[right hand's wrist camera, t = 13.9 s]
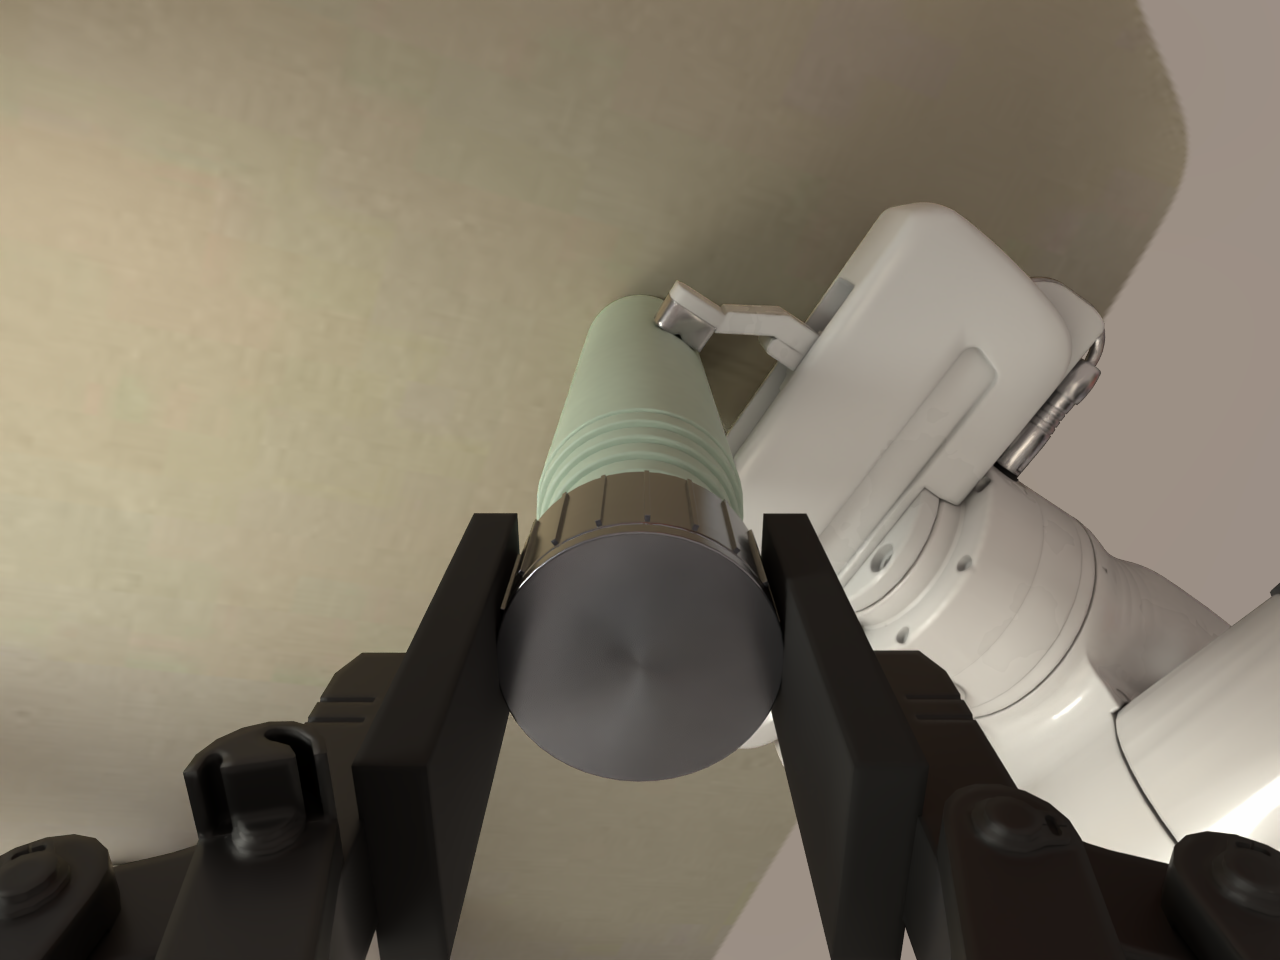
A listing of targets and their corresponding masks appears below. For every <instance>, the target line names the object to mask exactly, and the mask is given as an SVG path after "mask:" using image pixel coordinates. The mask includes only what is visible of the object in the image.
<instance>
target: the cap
mask: <svg viewBox="0 0 1280 960" xmlns="http://www.w3.org/2000/svg"><path fill="white" fill-rule="evenodd" d="M769 585H770V584H769V581H768V578H767V574H766V571H765V568H764V565H763V561H762V558H761V555H760V552H759V549H758V545H757V542H756V539H755V536H754V533H753V531H752V529H751V530H748V529H747V527H746V525H745V524H744V522H743V521H742V519H741V518H740V517H739V516H738V515H737V514H736V513H735V511H734V510H733V509H732V508H731V507H730V506H729V504H728V501H726V500H725V499H724V500H722V499H721V498H719V497H718V496H716V495H715V494H713V493H712V492H710V491H709V490H707V489H706V488H704V487H701V486H699V485H697V484H695V483H693V482H692V480H690V479H687V480H685V479H683V478H679V477H676V476H672V475H667V474H662V473H654V472H649V470H644V472H625V473H619V474H613V475H608V476H606V475H602V476H601V478H598V479H595V480H592V481H590V482H587V483H585V484H583V485H581V486H578V487H577V488H575V489H573V490H572V491H570V492H568V493H567V492H565V493H563V494H562V497H561V498H560V499H559V500H557V501H556V502H555V503H554V504H553V505H551V506H550V508H549V509H548V510H547V511H546V512H545V513H544V514H543V515H542V516H541V517H540V519H539V520H536V519H535V521H534V522H533V525H532V528H531V531H530V534H529V536H528V538H527V540H526V542H525V545H524V548H523V551H522V554H518V555H517V558H516V561H515V564H514V567H513V570H512V573H511V576H510V579H509V582H508V585H507V589H506V592H505V595H504V598H503V601H502V604H501V607H500V613H502V618H501V621H500V624H499V627H498V631H497V637H496V649H497V664H498V678H499V687H500V691H501V694H502V696H503V698H504V700H505V703H506V705H507V707H508V709H509V711H510V712H511V714H512V716H513V717H514V719H515V720H516V722H517V723H518V725H519V726H520V727H521V728H522V729H523V731H524V732H525V733H526V734H527V735H528V736H529V737H530V738H531V739H532V740H533V741H534V742H535V743H536V744H537V745H538V746H539V747H541V748H542V749H543V750H545V751H546V752H547V753H549V754H550V755H552V756H553V757H554V758H556V759H558V760H560V761H562V762H564V763H565V764H567V765H569V766H571V767H574V768H576V769H579V770H581V771H583V772H586V773H589V774H593V775H596V776H600V777H604V778H609V779H615V780H622V781H637V782H640V781H658V780H665V779H672V778H676V777H680V776H684V775H688V774H691V773H694V772H697V771H699V770H702V769H704V768H707V767H709V766H711V765H713V764H715V763H717V762H719V761H721V760H722V759H724V758H725V757H727V756H728V755H730V754H731V753H733V752H734V751H736V750H737V749H738V748H739V747H741V746H742V745H743V744H744V743H745V742H746V741H747V740H749V739H750V738H751V736H752V735H753V734H754V733H755V732H756V731H757V730H758V729H759V727H760V726H761V725H762V723H763V722H764V720H765V719H766V717H767V716H768V715H769V713H770V711H771V709H772V707H773V705H774V703H775V701H776V699H777V697H778V694H779V690H780V687H781V684H782V673H783V658H784V637H783V631H782V628H781V625H780V620H779V616H778V613H777V610H776V607H775V604H774V600H773V597H772V594H771V591H770V587H769Z"/></svg>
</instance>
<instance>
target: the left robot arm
mask: <svg viewBox="0 0 1280 960" xmlns="http://www.w3.org/2000/svg"><path fill="white" fill-rule="evenodd" d="M654 319H655V320H654V322H655V323H656V324H657V325H658V326H660V327H661V328H662V329H664V330H665V331H667V332H668V333H670V334H680V336H681V338H682V341H683V342H684V343H686V344H687V345H689V346H690V347H692V348H693V349H695V350H696V351H698V352H701V350H702V349H703V347H704V346H705V344H706V343H707V341H708V340H709V339H710V337H711V336H712V334H713V333H714V331H715V333H724V334H742V335H759V337H758V339H759V343H760V344H761V345H762V347H763V348H764V350H765V351H766V352H767V354H768V355H770V356H771V357H773V358H774V359H776V360H777V363H776V364H775V365H774V367H773V368H772V370H771V371H770V373H769V374H768V375H767V377H766V378H765V380H764V381H763V382H762V384H761V385H760V387H759V388H758V390H757V391H756V392H755V394H754V395H753V397H752V398H751V400H750V401H749V402H748V404H747V405H746V407H745V408H744V410H743V411H742V412H741V414H740V415H739V417H738V418H737V420H736V421H735V422H734V424H733V425H732V427H731V428H730V430H729V431H728V432H727V434H726V438H727V441H728V444H729V447H730V450H731V453H732V456H733V459H734V463H735V466H736V469H737V472H738V475H739V478H740V481H741V486H742V492H743V522H744V524H745V525H746V527H747V529H748V530H751V529H752V531H753V533H754V536H755V539H756V542H757V545H758V549H759V552H760V555H761V546H762V528H763V513H807V515H808V517H809V519H810V522H811V524H812V526H813V528H814V530H815V532H816V534H817V536H818V538H819V540H820V542H821V544H822V546H823V548H824V550H825V552H826V554H827V556H828V559H829V561H830V563H831V565H832V567H833V569H834V571H835V573H836V575H837V577H838V579H839V581H840V583H841V585H842V587H843V589H844V591H845V593H846V596H847V598H848V600H849V602H850V604H851V606H852V608H853V610H854V612H855V614H856V616H857V618H858V620H859V622H860V624H861V626H862V628H863V630H864V632H865V635H866V637H867V639H868V641H869V643H870V645H871V647H872V649H873V650H919V651H920V652H922V653H923V654H924V655H926V656H927V657H928V658H930V659H931V660H932V661H934V662H935V663H936V664H937V665H939V666H940V667H941V668H943V669H944V670H945V671H946V672H947V673H948V675H949V677H950V678H951V680H952V682H953V683H954V685H955V687H956V688H957V690H958V691H959V693H960V695H961V700H964V701H965V703H966V704H967V706H968V708H969V709H970V711H971V713H972V714H973V720H976V721H977V722H978V724H979V726H980V727H981V729H982V731H983V732H984V734H985V735H986V737H987V739H988V740H989V742H990V744H991V745H992V747H993V749H994V750H995V752H996V753H997V755H998V757H999V758H1000V760H1001V762H1002V763H1003V765H1004V766H1005V768H1006V770H1007V771H1008V773H1009V775H1010V776H1011V778H1012V780H1013V781H1014V783H1015V784H1016V786H1017V788H1018V789H1021V790H1025V791H1027V792H1029V793H1031V794H1033V795H1035V796H1037V797H1039V798H1041V799H1043V800H1045V801H1047V802H1049V803H1050V804H1051V805H1052V806H1054V807H1055V808H1056V809H1057V810H1058V811H1060V812H1061V813H1062V814H1063V815H1064V816H1066V817H1067V818H1068V819H1069V820H1070V822H1071V823H1072V825H1073V826H1074V828H1075V829H1076V831H1077V833H1078V834H1079V836H1080V837H1081V839H1082V841H1084V842H1086V843H1089V844H1093V845H1096V846H1099V847H1102V848H1105V849H1109V850H1113V851H1117V852H1121V853H1125V854H1130V855H1134V856H1138V857H1142V858H1147V859H1151V860H1155V861H1159V862H1164V863H1168V864H1169V862H1170V858H1171V855H1172V851H1173V848H1174V846H1175V845H1176V844H1177V843H1178V842H1179V841H1180V840H1181V839H1182V838H1183V837H1184V836H1186V835H1189V834H1194V833H1199V832H1204V831H1213V832H1221V833H1230V834H1236V835H1239V836H1242V837H1245V838H1248V839H1251V840H1254V841H1257V842H1260V843H1263V844H1266V845H1268V846H1270V847H1272V848H1274V849H1276V850H1278V851H1279V852H1280V583H1279V584H1278V585H1277V586H1276V587H1275V588H1274V589H1272V590H1271V592H1270V593H1271V596H1272V597H1271V598H1269V599H1268V600H1267V601H1265V602H1264V603H1263V604H1261V605H1260V606H1259V607H1257V608H1256V609H1254V610H1253V611H1252V612H1250V613H1249V614H1248V615H1246V616H1245V617H1244V618H1242V619H1241V620H1240V621H1238V622H1237V623H1236V624H1234V625H1233V626H1230V625H1229V624H1228V623H1227V622H1225V621H1224V620H1223V619H1221V618H1220V617H1219V616H1218V615H1216V614H1215V613H1214V612H1212V611H1211V610H1210V609H1209V608H1207V607H1206V606H1205V605H1203V604H1202V603H1200V602H1199V601H1198V600H1196V599H1195V598H1193V597H1192V596H1191V595H1189V594H1188V593H1186V592H1185V591H1184V590H1182V589H1181V588H1179V587H1178V586H1176V585H1175V584H1173V583H1172V582H1170V581H1169V580H1167V579H1166V578H1164V577H1163V576H1161V575H1159V574H1158V573H1156V572H1154V571H1152V570H1150V569H1148V568H1146V567H1143V566H1141V565H1138V564H1135V563H1132V562H1128V561H1124V560H1120V559H1117V558H1115V557H1113V556H1111V555H1110V554H1108V553H1107V552H1106V550H1105V549H1104V548H1103V546H1102V545H1101V544H1100V542H1099V541H1098V540H1097V539H1096V537H1095V536H1094V535H1093V534H1092V532H1091V531H1090V530H1089V529H1087V528H1086V527H1085V526H1084V525H1083V524H1082V523H1080V522H1079V521H1078V520H1077V519H1075V518H1074V517H1072V516H1070V515H1069V514H1067V513H1066V512H1064V511H1063V510H1061V509H1060V508H1058V507H1057V506H1055V505H1054V504H1052V503H1051V502H1049V501H1048V500H1046V499H1045V498H1043V497H1042V496H1040V495H1039V494H1037V493H1036V492H1034V491H1033V490H1031V489H1030V488H1028V487H1027V486H1025V485H1024V484H1022V483H1021V482H1019V481H1018V479H1017V477H1018V476H1019V475H1020V474H1021V472H1022V471H1023V470H1024V469H1025V468H1026V467H1027V465H1028V464H1029V463H1030V462H1031V461H1032V459H1033V458H1034V457H1035V456H1036V455H1037V454H1038V452H1039V451H1040V450H1041V449H1042V448H1043V446H1044V445H1045V444H1046V442H1047V441H1048V440H1049V438H1050V437H1051V436H1050V435H1051V434H1053V432H1054V431H1055V427H1057V426H1058V425H1059V423H1060V422H1059V421H1061V420H1062V419H1063V418H1064V417H1065V414H1067V413H1068V412H1069V411H1070V410H1071V409H1072V408H1073V406H1074V405H1075V404H1076V405H1078V404H1079V403H1080V402H1081V401H1082V400H1083V399H1084V398H1085V397H1086V396H1087V394H1088V393H1089V392H1090V391H1091V389H1092V388H1093V387H1094V385H1095V383H1096V382H1097V380H1098V378H1099V376H1100V374H1101V371H1100V370H1099V369H1098V368H1096V367H1095V366H1096V364H1097V363H1098V361H1099V359H1100V357H1101V354H1102V352H1103V348H1104V343H1105V329H1104V321H1103V319H1102V317H1101V316H1100V314H1099V312H1098V311H1097V310H1096V309H1095V308H1094V306H1093V305H1092V304H1090V303H1089V302H1088V301H1086V300H1085V299H1084V298H1082V297H1081V296H1079V295H1078V294H1077V293H1075V292H1074V291H1073V290H1071V289H1070V288H1069V287H1067V286H1066V285H1064V284H1063V283H1062V282H1059V281H1057V280H1055V279H1051V278H1048V277H1029V276H1028V275H1027V274H1026V273H1025V272H1024V271H1023V270H1022V269H1021V268H1020V267H1019V266H1018V265H1017V264H1016V263H1015V262H1014V261H1013V260H1012V259H1011V258H1010V257H1009V256H1008V255H1007V254H1006V253H1005V252H1004V251H1003V250H1002V249H1000V248H999V247H998V246H997V245H996V244H995V243H994V242H993V241H992V240H991V239H989V238H988V237H987V236H986V235H985V234H984V233H982V232H981V231H980V230H979V229H978V228H976V227H975V226H974V225H973V224H972V223H970V222H969V221H968V220H967V219H965V218H964V217H963V216H961V215H960V214H959V213H957V212H956V211H954V210H952V209H950V208H948V207H946V206H943V205H940V204H937V203H931V202H918V203H910V204H904V205H899V206H894V207H890V208H888V209H886V210H885V211H884V212H882V214H881V215H880V216H879V217H878V219H877V220H876V221H875V223H874V224H873V226H872V227H871V229H870V230H869V231H868V233H867V234H866V236H865V237H864V239H863V240H862V241H861V243H860V244H859V246H858V247H857V249H856V250H855V251H854V253H853V254H852V256H851V257H850V258H849V260H848V261H847V263H846V264H845V266H844V267H843V268H842V270H841V271H840V273H839V274H838V276H837V277H836V278H835V280H834V281H833V283H832V284H831V286H830V287H829V288H828V290H827V291H826V293H825V294H824V296H823V297H822V298H821V300H820V301H819V303H818V304H817V306H816V307H815V308H814V310H813V311H812V313H811V314H810V316H809V317H808V318H807V320H806V321H805V323H804V322H802V321H801V320H799V319H798V318H796V317H795V316H793V315H792V314H790V313H789V312H787V311H785V310H784V309H782V308H781V307H779V306H766V305H737V304H722V306H721V307H720V306H718V305H717V304H715V303H714V302H712V301H711V300H709V299H707V298H706V297H704V296H703V295H701V294H700V293H698V292H697V291H695V290H694V289H692V288H691V287H689V286H688V285H686V284H684V283H682V282H680V281H678V280H677V281H676V282H675V284H674V285H673V287H672V289H671V290H670V292H669V293H668V295H667V296H666V298H665V300H664V301H663V303H662V305H661V306H660V308H659V309H658V311H657V313H656V314H655V316H654ZM1089 348H1090V349H1089ZM1088 349H1089V352H1088V354H1087V356H1086V358H1085V360H1084V359H1082V356H1083V355H1084V354H1085V353H1086V352H1087V350H1088ZM771 742H773V743H774V746H775V748H776V750H777V753H778V755H779V758H780V760H781V762H782V764H783V766H784V763H783V759H782V755H781V751H780V746H779V742H778V738H777V734H776V730H775V726H774V722H773V718H772V713H771V711H770V713H769V715H768V716H767V717H766V719H765V720H764V722H763V723H762V725H761V726H760V727H759V729H758V730H757V731H756V732H755V733H754V734H753V735H752V736H751V738H750V739H749V740H747V741H746V742H745V743H744V744H743V745H742V746H741V747H739V748H738V749H750V748H756V747H761V746H764V745H767V744H769V743H771ZM115 866H119V865H115ZM113 867H114V866H113ZM365 960H380V955H379V948H378V942H377V935H376V930H375V933H374V936H373V939H372V942H371V945H370V947H369V950H368V953H367V956H366V959H365Z"/></svg>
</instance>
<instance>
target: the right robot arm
mask: <svg viewBox="0 0 1280 960" xmlns="http://www.w3.org/2000/svg"><path fill="white" fill-rule="evenodd" d="M518 554H520V553H519V535H518V518H517V513H474V515H473V517H472V519H471V521H470V523H469V525H468V527H467V529H466V531H465V533H464V535H463V537H462V539H461V541H460V543H459V545H458V547H457V549H456V552H455V554H454V556H453V558H452V560H451V562H450V564H449V566H448V568H447V570H446V572H445V574H444V576H443V578H442V580H441V582H440V584H439V586H438V589H437V591H436V593H435V595H434V597H433V599H432V601H431V603H430V605H429V607H428V609H427V611H426V613H425V615H424V617H423V619H422V621H421V623H420V626H419V628H418V630H417V632H416V634H415V636H414V638H413V640H412V642H411V644H410V646H409V648H408V650H407V652H406V653H361V654H360V655H359V656H357V657H356V658H355V659H353V660H352V661H351V662H349V663H348V664H347V665H346V666H344V667H343V668H342V669H340V670H339V671H338V672H336V673H335V674H334V676H333V678H332V679H331V681H330V683H329V684H328V686H327V688H326V689H325V691H324V692H323V694H322V696H321V697H320V699H321V700H320V702H317V704H316V706H315V707H314V709H313V711H312V712H311V714H310V715H309V717H308V723H305V724H301V723H298V722H294V721H286V722H266V723H261V724H257V725H253V726H249V727H244V728H241V729H239V730H237V731H234V732H232V733H230V734H228V735H225V736H223V737H221V738H219V739H217V740H215V741H214V742H213V743H211V744H210V745H209V746H207V747H206V748H205V749H203V750H202V751H200V752H199V753H198V754H196V755H195V757H194V758H193V760H192V761H191V762H190V764H189V765H188V766H187V768H186V769H185V770H184V772H183V775H184V779H185V783H186V787H187V791H188V795H189V800H190V804H191V808H192V812H193V816H194V821H195V825H196V829H197V833H198V837H199V841H198V843H197V845H195V846H193V847H189V848H186V849H183V850H180V851H176V852H173V853H169V854H165V855H161V856H157V857H152V858H148V859H144V860H140V861H135V862H131V863H127V864H123V865H119V866H114V867H113V866H112V863H111V859H110V856H109V852H108V849H106V848H105V847H104V846H103V845H102V844H101V843H100V842H99V841H98V840H97V839H96V838H91V837H86V836H81V835H76V834H72V835H63V836H55V837H47V838H43V839H40V840H37V841H34V842H31V843H29V844H26V845H23V846H20V847H17V848H14V849H12V850H10V851H9V852H7V853H5V854H3V855H1V856H0V960H365V959H366V956H367V953H368V950H369V947H370V945H371V942H372V939H373V936H374V933H375V930H376V935H377V942H378V948H379V955H380V960H450V955H451V951H452V947H453V943H454V939H455V935H456V931H457V926H458V922H459V918H460V914H461V910H462V906H463V902H464V898H465V893H466V889H467V885H468V881H469V877H470V873H471V869H472V864H473V860H474V856H475V852H476V848H477V844H478V840H479V836H480V831H481V827H482V823H483V819H484V815H485V811H486V807H487V802H488V798H489V794H490V790H491V786H492V782H493V778H494V774H495V769H496V765H497V761H498V757H499V753H500V749H501V745H502V740H503V736H504V732H505V728H506V724H507V720H508V716H509V712H510V711H509V709H508V707H507V705H506V703H505V700H504V698H503V696H502V694H501V691H500V687H499V678H498V664H497V649H496V637H497V631H498V627H499V624H500V621H501V618H502V613H500V607H501V604H502V601H503V598H504V595H505V592H506V589H507V585H508V582H509V579H510V576H511V573H512V570H513V567H514V564H515V561H516V558H517V555H518ZM761 558H762V561H763V565H764V568H765V571H766V574H767V578H768V581H769V584H770V585H769V587H770V591H771V594H772V597H773V600H774V604H775V607H776V610H777V613H778V616H779V620H780V625H781V628H782V631H783V637H784V658H783V673H782V684H781V687H780V690H779V694H778V697H777V699H776V701H775V703H774V705H773V707H772V709H771V713H772V718H773V722H774V726H775V730H776V734H777V738H778V742H779V746H780V751H781V755H782V759H783V763H784V767H785V771H786V775H787V780H788V784H789V788H790V792H791V796H792V800H793V804H794V808H795V813H796V817H797V821H798V825H799V829H800V833H801V837H802V841H803V846H804V850H805V854H806V858H807V862H808V866H809V870H810V875H811V879H812V883H813V887H814V891H815V895H816V899H817V903H818V908H819V912H820V916H821V920H822V924H823V928H824V932H825V937H826V941H827V945H828V949H829V953H830V957H831V960H900V958H901V952H902V945H903V939H904V932H905V927H906V930H907V933H908V936H909V939H910V942H911V945H912V947H913V950H914V953H915V956H916V959H917V960H1280V852H1279V851H1278V850H1276V849H1274V848H1272V847H1270V846H1268V845H1266V844H1263V843H1260V842H1257V841H1254V840H1251V839H1248V838H1245V837H1242V836H1239V835H1236V834H1230V833H1221V832H1213V831H1204V832H1199V833H1194V834H1189V835H1186V836H1184V837H1183V838H1182V839H1181V840H1180V841H1179V842H1178V843H1177V844H1176V845H1175V846H1174V848H1173V851H1172V855H1171V858H1170V862H1169V864H1168V863H1164V862H1159V861H1155V860H1151V859H1147V858H1142V857H1138V856H1134V855H1130V854H1125V853H1121V852H1117V851H1113V850H1109V849H1105V848H1102V847H1099V846H1096V845H1093V844H1089V843H1086V842H1084V841H1082V839H1081V837H1080V836H1079V834H1078V833H1077V831H1076V829H1075V828H1074V826H1073V825H1072V823H1071V822H1070V820H1069V819H1068V818H1067V817H1066V816H1064V815H1063V814H1062V813H1061V812H1060V811H1058V810H1057V809H1056V808H1055V807H1054V806H1052V805H1051V804H1050V803H1049V802H1047V801H1045V800H1043V799H1041V798H1039V797H1037V796H1035V795H1033V794H1031V793H1029V792H1027V791H1025V790H1021V789H1018V788H1017V786H1016V784H1015V783H1014V781H1013V780H1012V778H1011V776H1010V775H1009V773H1008V771H1007V770H1006V768H1005V766H1004V765H1003V763H1002V762H1001V760H1000V758H999V757H998V755H997V753H996V752H995V750H994V749H993V747H992V745H991V744H990V742H989V740H988V739H987V737H986V735H985V734H984V732H983V731H982V729H981V727H980V726H979V724H978V722H977V721H976V720H973V714H972V713H971V711H970V709H969V708H968V706H967V704H966V703H965V701H964V700H961V695H960V693H959V691H958V690H957V688H956V687H955V685H954V683H953V682H952V680H951V678H950V677H949V675H948V673H947V672H946V671H945V670H944V669H943V668H941V667H940V666H939V665H937V664H936V663H935V662H934V661H932V660H931V659H930V658H928V657H927V656H926V655H924V654H923V653H922V652H920V651H919V650H873V649H872V647H871V645H870V643H869V641H868V639H867V637H866V635H865V632H864V630H863V628H862V626H861V624H860V622H859V620H858V618H857V616H856V614H855V612H854V610H853V608H852V606H851V604H850V602H849V600H848V598H847V596H846V593H845V591H844V589H843V587H842V585H841V583H840V581H839V579H838V577H837V575H836V573H835V571H834V569H833V567H832V565H831V563H830V561H829V559H828V556H827V554H826V552H825V550H824V548H823V546H822V544H821V542H820V540H819V538H818V536H817V534H816V532H815V530H814V528H813V526H812V524H811V522H810V519H809V517H808V515H807V513H763V528H762V546H761Z"/></svg>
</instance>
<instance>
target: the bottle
mask: <svg viewBox="0 0 1280 960" xmlns="http://www.w3.org/2000/svg"><path fill="white" fill-rule="evenodd" d="M663 301H664V300H662V299H660V298H657V297H654V296H648V295H631V296H627V297H623V298H621V299H618V300H616V301H614V302H612V303H610V304H609V305H608V306H606V307H605V308H604V309H603V310H602V311H601V312H600V313H599V314H598V315H597V316H596V318H595V319H594V321H593V322H592V324H591V326H590V328H589V331H588V334H587V337H586V340H585V343H584V346H583V349H582V352H581V355H580V358H579V361H578V365H577V368H576V371H575V374H574V377H573V380H572V383H571V386H570V389H569V392H568V395H567V398H566V401H565V404H564V407H563V410H562V414H561V417H560V420H559V423H558V426H557V429H556V432H555V435H554V438H553V441H552V444H551V447H550V450H549V453H548V456H547V459H546V462H545V466H544V469H543V472H542V475H541V478H540V482H539V486H538V493H537V520H539V519H540V517H541V516H542V515H543V514H544V513H545V512H546V511H547V510H548V509H549V508H550V506H551V505H553V504H554V503H555V502H556V501H557V500H559V499H560V498H561V497H562V494H563V493H565V492H567V493H568V492H570V491H572V490H573V489H575V488H577V487H578V486H581V485H583V484H585V483H587V482H590V481H592V480H595V479H598V478H601V476H602V475H606V476H608V475H613V474H619V473H625V472H644V470H649V472H654V473H662V474H667V475H672V476H676V477H679V478H683V479H685V480H687V479H690V480H692V482H693V483H695V484H697V485H699V486H701V487H704V488H706V489H707V490H709V491H710V492H712V493H713V494H715V495H716V496H718V497H719V498H721V499H722V500H724V499H725V500H726V501H728V504H729V506H730V507H731V508H732V509H733V510H734V511H735V513H736V514H737V515H738V516H739V517H740V518H741V519H742V521H743V492H742V486H741V481H740V478H739V475H738V472H737V469H736V466H735V463H734V459H733V456H732V453H731V450H730V447H729V444H728V441H727V438H726V435H725V432H724V429H723V426H722V423H721V420H720V417H719V413H718V410H717V407H716V404H715V401H714V398H713V395H712V392H711V389H710V386H709V383H708V380H707V377H706V374H705V371H704V367H703V364H702V361H701V358H700V355H699V352H698V351H696V350H695V349H693V348H692V347H690V346H689V345H687V344H686V343H684V342H683V341H682V338H681V336H680V334H670V333H668V332H667V331H665V330H664V329H662V328H661V327H660V326H658V325H657V324H656V323H655V322H654V320H655V319H654V316H655V314H656V313H657V311H658V309H659V308H660V306H661V305H662V303H663Z"/></svg>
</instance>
